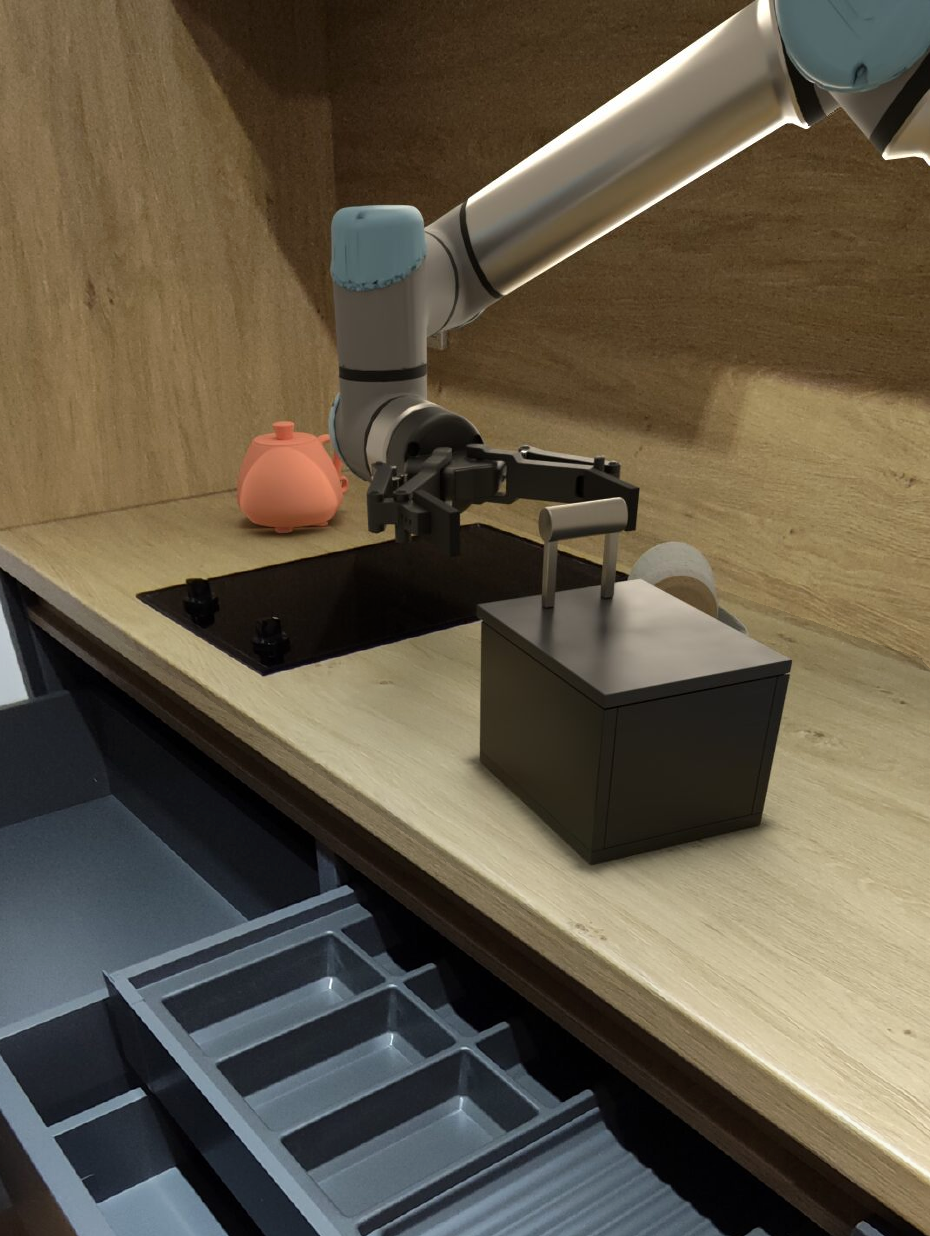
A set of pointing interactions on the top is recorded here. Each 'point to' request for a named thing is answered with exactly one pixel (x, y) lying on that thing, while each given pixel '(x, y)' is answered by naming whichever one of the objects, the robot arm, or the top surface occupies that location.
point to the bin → (626, 755)
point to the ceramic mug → (684, 579)
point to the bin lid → (622, 625)
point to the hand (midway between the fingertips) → (546, 521)
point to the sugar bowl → (290, 480)
